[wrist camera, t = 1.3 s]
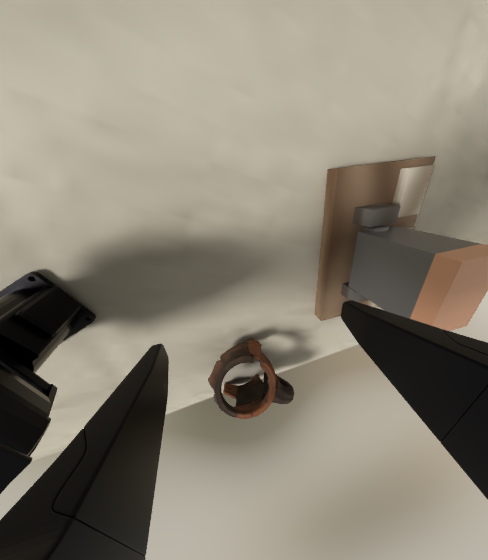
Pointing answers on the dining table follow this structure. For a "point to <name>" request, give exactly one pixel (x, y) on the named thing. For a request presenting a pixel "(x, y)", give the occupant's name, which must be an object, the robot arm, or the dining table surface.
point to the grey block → (420, 274)
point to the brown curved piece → (249, 383)
